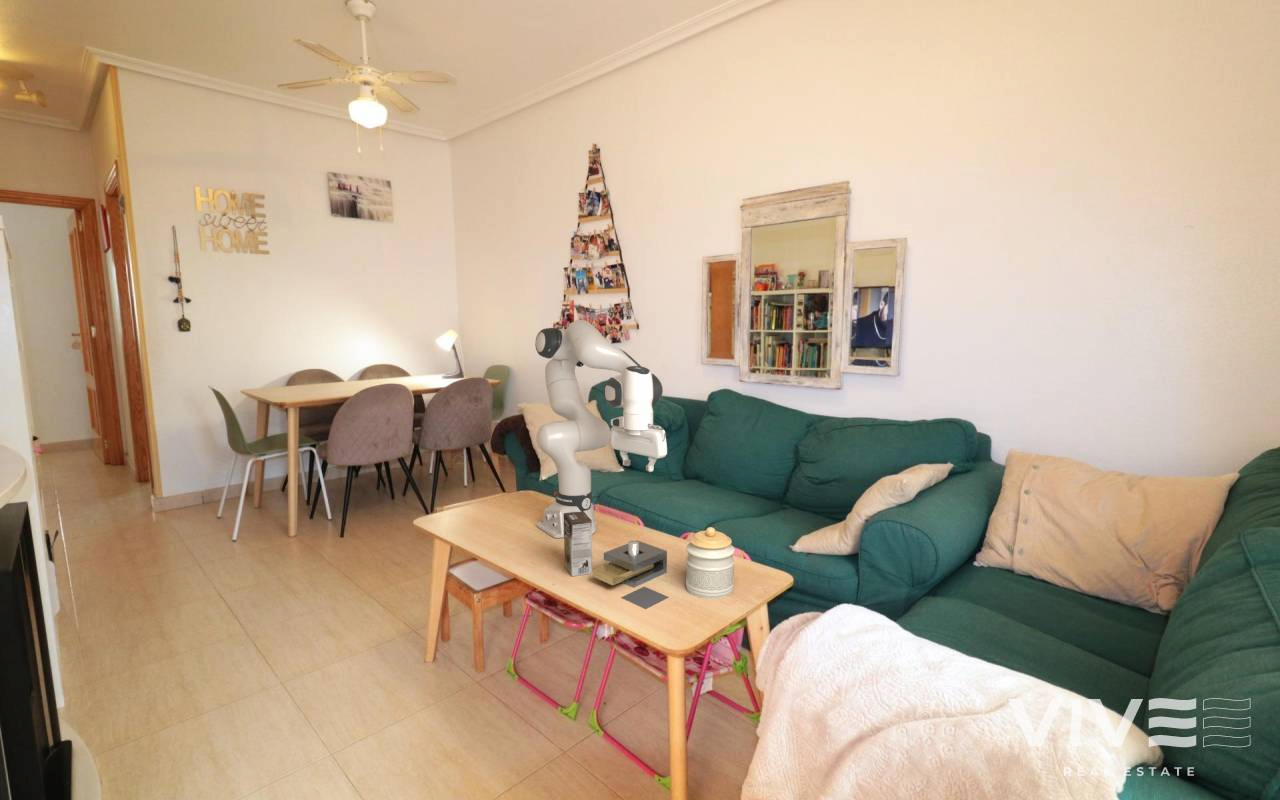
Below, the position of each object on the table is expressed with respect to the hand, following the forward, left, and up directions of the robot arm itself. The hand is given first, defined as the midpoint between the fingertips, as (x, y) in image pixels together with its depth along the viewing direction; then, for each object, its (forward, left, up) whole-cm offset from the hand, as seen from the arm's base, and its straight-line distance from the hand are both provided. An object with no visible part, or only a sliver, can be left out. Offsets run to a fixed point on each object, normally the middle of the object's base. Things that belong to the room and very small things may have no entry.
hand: (638, 468), depth 174 cm
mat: (+18, -16, -29) cm, 38 cm away
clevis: (+6, -10, -29) cm, 31 cm away
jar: (+27, 0, -29) cm, 40 cm away
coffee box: (-9, -16, -29) cm, 35 cm away
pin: (+6, -8, -29) cm, 31 cm away
